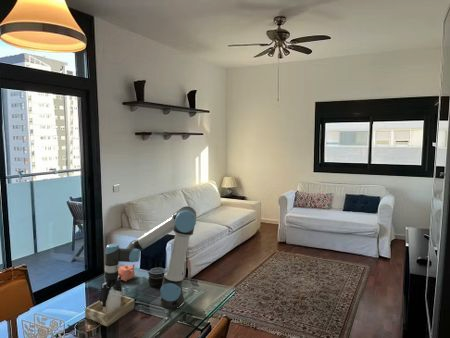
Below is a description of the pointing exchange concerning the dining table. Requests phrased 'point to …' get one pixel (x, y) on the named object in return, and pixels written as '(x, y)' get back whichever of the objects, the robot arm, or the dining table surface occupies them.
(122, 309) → the wooden tray
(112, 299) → the cup
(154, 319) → the dining table surface
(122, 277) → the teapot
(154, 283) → the container
